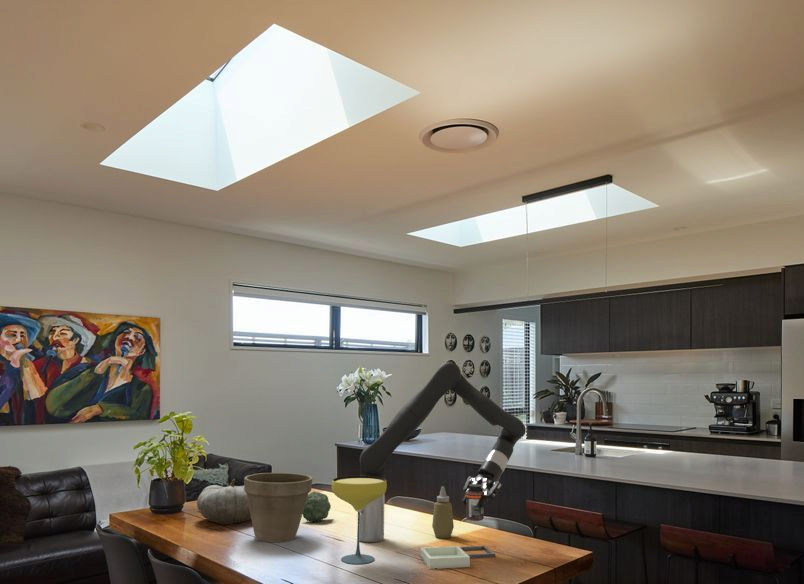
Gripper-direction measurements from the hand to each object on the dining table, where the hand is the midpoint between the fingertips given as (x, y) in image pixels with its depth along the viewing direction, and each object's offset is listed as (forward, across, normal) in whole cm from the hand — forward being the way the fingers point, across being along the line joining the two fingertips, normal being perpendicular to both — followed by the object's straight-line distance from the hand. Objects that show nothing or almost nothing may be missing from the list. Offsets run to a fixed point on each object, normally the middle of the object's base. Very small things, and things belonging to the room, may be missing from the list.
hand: (471, 505), depth 209 cm
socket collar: (+10, 0, +12) cm, 16 cm away
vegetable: (+19, -77, +5) cm, 80 cm away
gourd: (+39, -98, -15) cm, 106 cm away
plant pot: (+38, -62, -14) cm, 74 cm away
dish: (+21, 0, +2) cm, 21 cm away
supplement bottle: (+2, 0, +5) cm, 5 cm away
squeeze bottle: (+4, -23, +19) cm, 30 cm away
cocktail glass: (+35, -20, -12) cm, 42 cm away
